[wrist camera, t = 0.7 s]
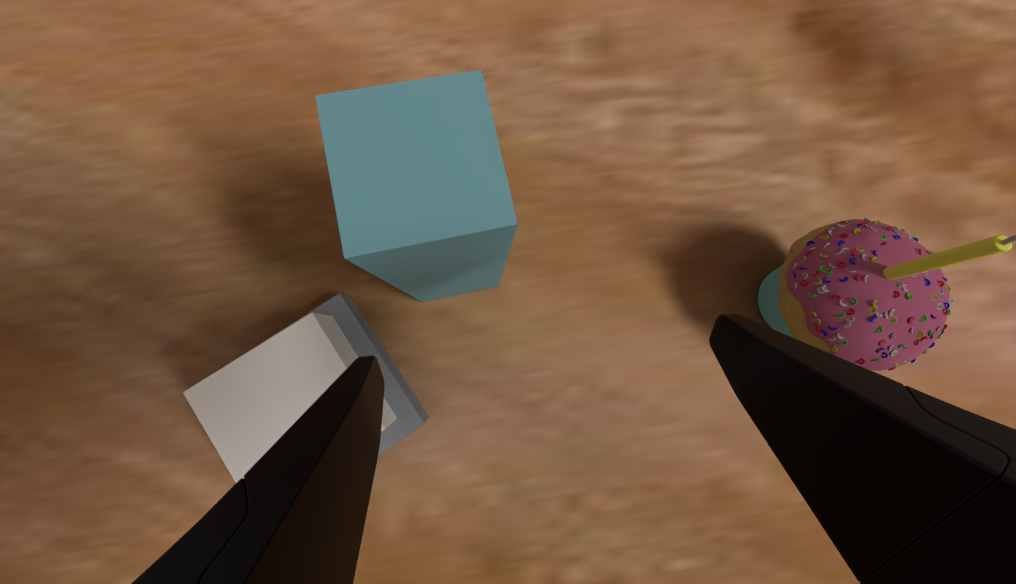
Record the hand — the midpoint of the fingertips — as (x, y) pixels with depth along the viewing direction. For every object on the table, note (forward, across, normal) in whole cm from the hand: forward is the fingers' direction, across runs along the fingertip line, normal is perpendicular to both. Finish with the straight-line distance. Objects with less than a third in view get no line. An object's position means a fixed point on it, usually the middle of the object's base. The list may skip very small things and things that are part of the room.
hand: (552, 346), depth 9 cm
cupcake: (+11, -19, +9) cm, 24 cm away
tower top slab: (+8, +12, +9) cm, 17 cm away
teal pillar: (+14, +3, +4) cm, 15 cm away
